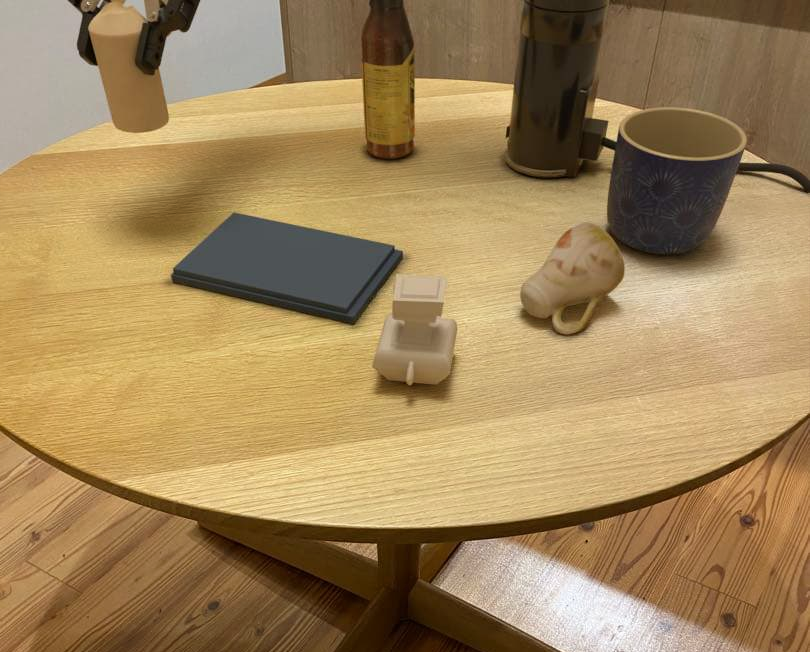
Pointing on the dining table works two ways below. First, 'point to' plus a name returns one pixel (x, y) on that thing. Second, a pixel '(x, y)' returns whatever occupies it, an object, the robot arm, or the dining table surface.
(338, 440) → the dining table surface
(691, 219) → the planter
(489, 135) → the dining table surface
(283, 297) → the dark grey rectangular slab
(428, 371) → the beige blocky piece
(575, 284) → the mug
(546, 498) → the dining table surface
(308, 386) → the dining table surface
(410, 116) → the sauce bottle
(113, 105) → the candle
